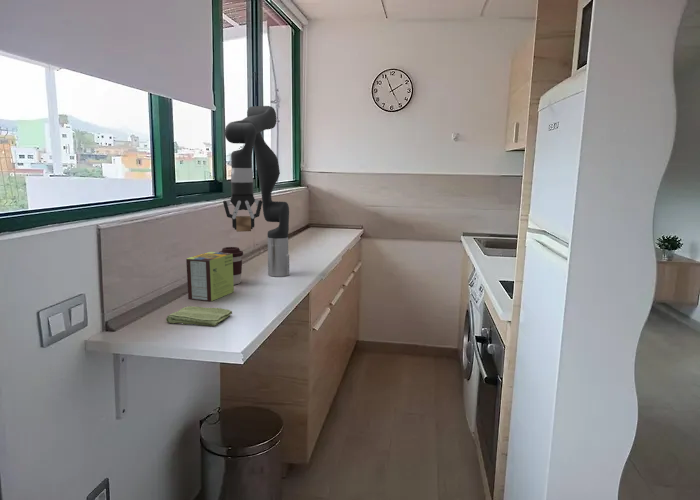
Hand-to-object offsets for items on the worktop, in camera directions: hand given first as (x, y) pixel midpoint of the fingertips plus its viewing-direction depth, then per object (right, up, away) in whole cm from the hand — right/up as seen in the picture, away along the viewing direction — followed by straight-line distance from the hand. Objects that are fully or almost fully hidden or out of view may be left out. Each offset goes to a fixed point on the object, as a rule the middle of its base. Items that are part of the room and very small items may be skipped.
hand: (243, 228), depth 178 cm
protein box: (-15, -25, +13) cm, 32 cm away
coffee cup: (-12, -22, +32) cm, 40 cm away
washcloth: (-10, -31, -16) cm, 36 cm away
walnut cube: (0, -1, 0) cm, 1 cm away
